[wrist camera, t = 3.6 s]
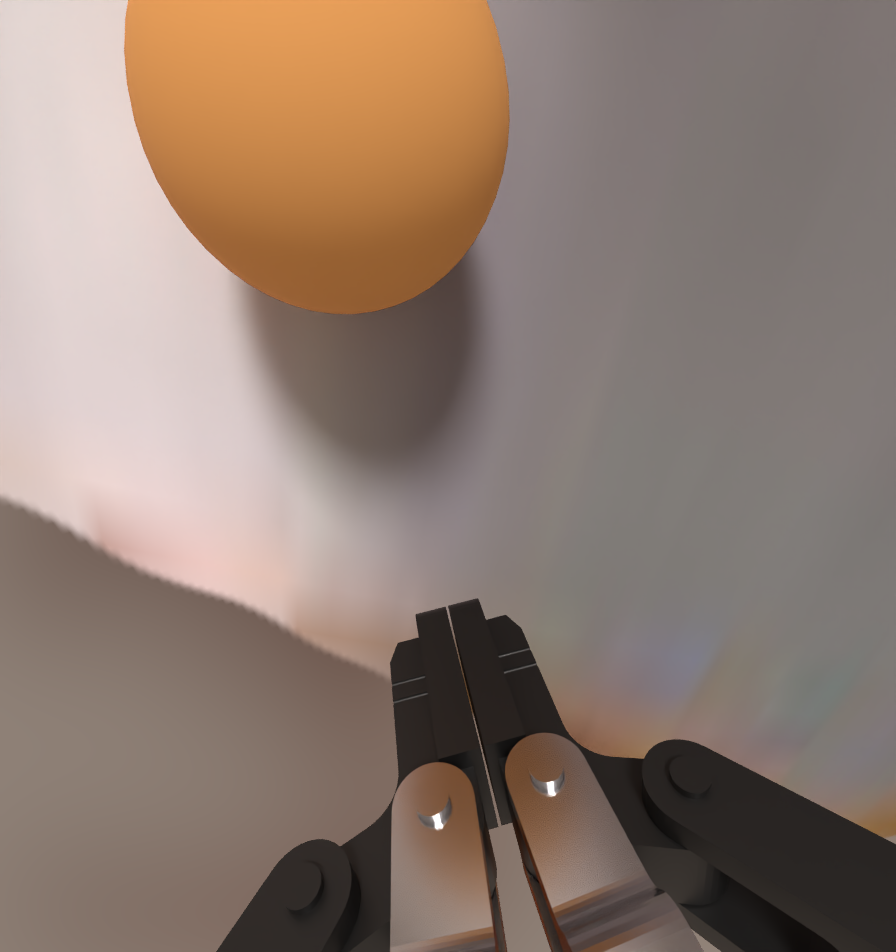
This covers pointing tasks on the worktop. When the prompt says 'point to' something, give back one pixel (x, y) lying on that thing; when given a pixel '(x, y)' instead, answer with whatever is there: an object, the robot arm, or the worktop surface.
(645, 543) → the worktop surface
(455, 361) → the worktop surface
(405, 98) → the ball
